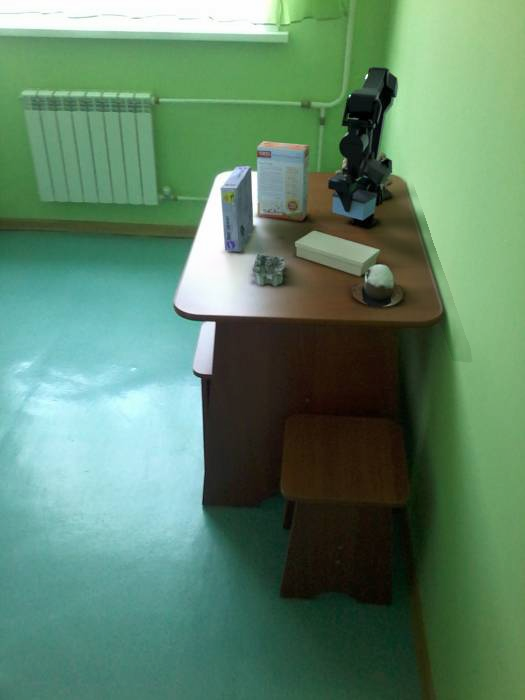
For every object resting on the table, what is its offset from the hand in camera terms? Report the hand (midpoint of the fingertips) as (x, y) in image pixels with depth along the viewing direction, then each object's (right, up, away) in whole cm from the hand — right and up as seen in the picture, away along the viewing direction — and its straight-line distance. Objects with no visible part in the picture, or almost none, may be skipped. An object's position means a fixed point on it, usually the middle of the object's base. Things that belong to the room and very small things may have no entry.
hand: (353, 208), depth 162 cm
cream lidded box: (-4, -13, +1) cm, 14 cm away
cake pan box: (-30, -6, +12) cm, 33 cm away
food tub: (0, -1, +1) cm, 1 cm away
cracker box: (-18, +3, +25) cm, 30 cm away
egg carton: (-22, -19, -6) cm, 30 cm away
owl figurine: (+8, +13, +38) cm, 41 cm away
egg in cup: (+4, -24, -14) cm, 28 cm away
